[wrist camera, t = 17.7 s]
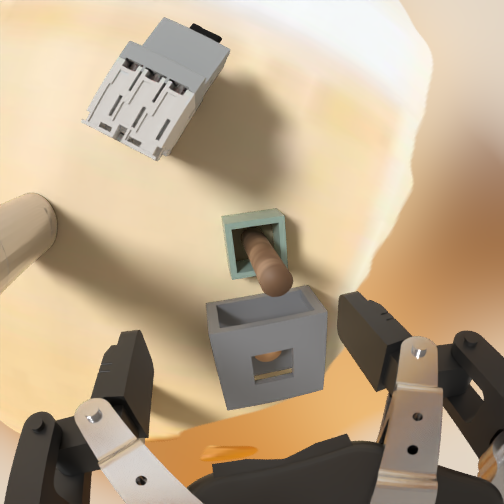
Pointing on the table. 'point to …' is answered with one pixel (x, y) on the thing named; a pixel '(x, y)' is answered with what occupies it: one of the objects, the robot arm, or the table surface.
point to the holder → (248, 220)
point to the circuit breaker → (157, 87)
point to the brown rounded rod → (266, 263)
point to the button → (268, 356)
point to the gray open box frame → (268, 345)
